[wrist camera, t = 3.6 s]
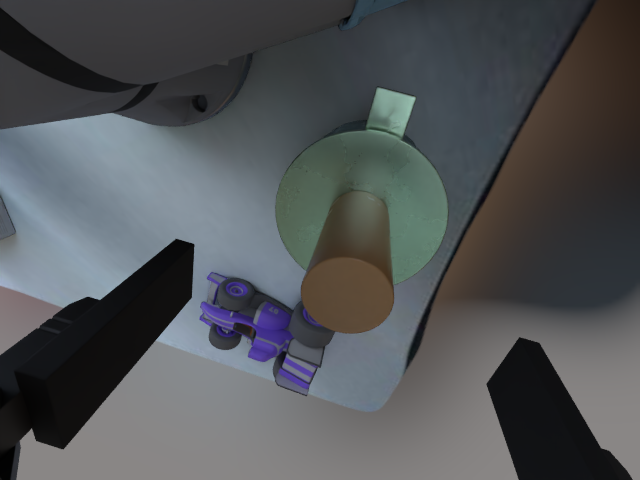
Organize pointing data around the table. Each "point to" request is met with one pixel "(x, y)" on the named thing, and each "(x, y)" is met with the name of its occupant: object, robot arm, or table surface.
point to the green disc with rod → (359, 223)
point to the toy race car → (266, 331)
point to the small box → (5, 222)
